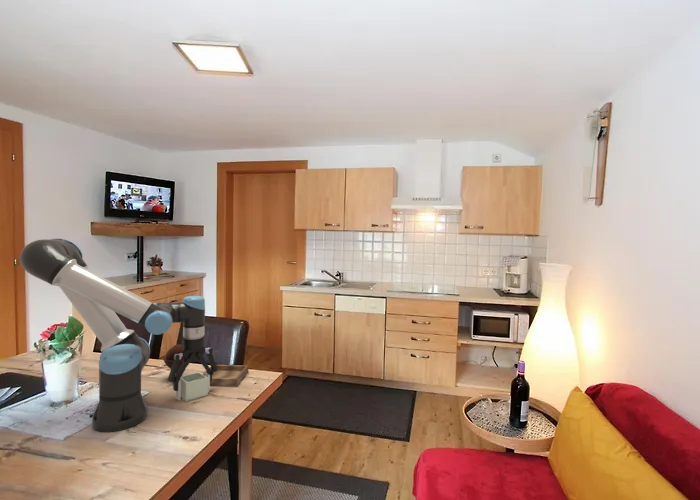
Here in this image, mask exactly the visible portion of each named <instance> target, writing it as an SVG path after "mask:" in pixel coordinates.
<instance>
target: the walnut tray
mask: <svg viewBox="0 0 700 500" xmlns="http://www.w3.org/2000/svg"><path fill="white" fill-rule="evenodd" d="M209 367H210V369H211V366H209ZM216 368H217V371H216V372H213V375H212V382H210V387H233V388H234V387H235V388H237V387H238V386H239V385H240V384H241V382H242V381H244V378H245V377H246V376H247V375H248V374H249V365H243V364H242V365H241V364H240V365H237V364H236V365H235V364H216ZM205 373H208V372H207V371H206V370H205V371H204V372H203V373H202V374H203V375H205Z"/></svg>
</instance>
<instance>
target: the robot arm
mask: <svg viewBox="0 0 700 500" xmlns="http://www.w3.org/2000/svg"><path fill="white" fill-rule="evenodd" d="M19 255H20V256H19V261H20V265H21V268H22V269H24V270H25V272H27V273H28V274H30V275H31V276H33V277H35V278H37V279H39V280H41V281H43V282H45V283H47V284H49V285H50V286H54V287H55V286H56V287H59V288H60V289H61V290H62V292H63V294H64V295H65V296H66V297H67V299H68V300H69V301H70V303H71V304H72V306H73V307H74V309H76V311H77V313H78V314H79V315H80V317H82V319H83V320H84V322H85V323H86V324H87V326H88V327H89V328H90V330H91V332H93V334H94V335H95V336H96V338H97V339H98V340H99V342H100V343H101V347H100V351H101V354H100V355H99V360H98V378H99V379H98V381H99V382H98V392H99V395H98V402H97V406H96V408H95V411H94V413H93V417H92V418H91V419H92V420H91V421H92V422H91V423H92V426H91V427H92V429H93V430H95V431H97V432H98V431H99V432H106V433H107V432H109V433H110V432H116V431H121V430H126V429H129V428H131V427H133V426H137V425H139V424H140V423H142V422H143V421H144V420H146V418H147V414H148V408H147V405H146V402H145V400H144V397H143V394H142V372H143V371H144V368H145V366H146V365H147V363H148V362H149V359H150V355H151V348H150V345H149V343H148V342H147V341H146V339H144V338H142V337H140V336H139V335H138V334H137V333H136V331H135V330H134V329H128V328H127V327H126V326H125V324H124V323H123V321H121V319H120V317H119V316H118V315H121V316H122V317H125V318H127V319H129V320H130V321H132V322H135V323H137V324H140V325H141V326H143V327H144V328H145V329H146V330H147V332H148V333H150V334H151V335H155V336H157V335H162V334H165V333H166V332H167V331H168V330H169V329H170V328H171V327H172V324H175V323H182V324H183V325H182V328H183V330H182V337H183V339H182V345H183V351H182V353H180V354H176V353H175V354H174V361H173V364H172V367H171V369H170V370H169V371H170V372H169V375H168V378H167V381H168V382H170V383H173V385H172V386H173V389H172V390H173V391H174V392H175V399H177V400H178V401H181V400H182V399H181V382H180V381H179V380H180V378H181V376H182V375H183V374H184V373H185V371H186V369H187V368H188V366H189V365H190V363H195V362H200V364H201V365H202V367H203V368H204V370H205V371H207V372H208V373H205V376H206V377H208V393H209V392H210V389H211V388H210V387H211V386H210V382H212V375H213V372H216V371H217V368H216V365H217V364H216V361H215V358H214V355H213V348H212V347H210V346H208V347H206V348H205V335H206V334H205V326H206V325H205V322H206V318H205V317H206V303H205V302H206V300H205V297H204V296H202V295H188V296H185V297H183V301H180V302H151V301H149V300H147V299H146V298H143V297H142V296H140V295H137V293H134V292H132V291H130V290H129V289H126V288H124V287H123V286H120V285H119V284H116V283H115V282H113V281H111V280H109V279H107V278H104V277H103V276H101V275H99V274H97V273H96V272H93V271H92V270H89V269H88V268H89V266H88V264H87V263H86V262H85V260H84V259H83V252H82V249H80V247H79V246H78V245H77V244H76V243H74V242H73V241H71V240H69V239H64V238H51V239H38V240H37V239H36V240H34V241H31V242H29V243H28V244H26V245H25V246H24V247H23V248H22V250H21V252H20V254H19ZM117 314H118V315H117ZM204 354H206V356H207V360H208V362H207V361H206V360H205V358H204V357H203V356H204ZM182 356H183V357H184V359H183V361H182V364H181V366H180V368H179V369H178V371H177V368H178V365H179V361H180V359H181V357H182ZM208 363H209V365H208ZM210 367H211V369H210ZM176 371H177V373H176Z"/></svg>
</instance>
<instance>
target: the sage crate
mask: <svg viewBox="0 0 700 500" xmlns="http://www.w3.org/2000/svg"><path fill="white" fill-rule="evenodd" d="M182 375H183V374H182ZM179 381H180V382H181V398H182V399H181V400H184V401H185V402H190V401H194V400H198V399H201V398H205V397H208V393H209V392H208V377H206V376H205V375H203V373H202V372H201V371H195V372H192V373H187V374H184V375H183V376H181V378H180V380H179Z"/></svg>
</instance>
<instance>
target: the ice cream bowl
mask: <svg viewBox="0 0 700 500" xmlns="http://www.w3.org/2000/svg"><path fill="white" fill-rule="evenodd" d="M182 351H183V344H179V343H178V344H174V345H173V346H172V347H171V348H169V349H168V350H167V352H166V353H165V357H163V362H164V364H165V365H166V366H167V368H169V369H170V370H171V367H172V364H173V361H174V354H175V353H176V354H180V353H182ZM183 359H184V357H183V356H182V357H181V359H180V361H179V365H178V368H177V371H178V369H179V368H180V366H181V364H182V361H183ZM177 371H176V373H177ZM182 376H183V374H182Z"/></svg>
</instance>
